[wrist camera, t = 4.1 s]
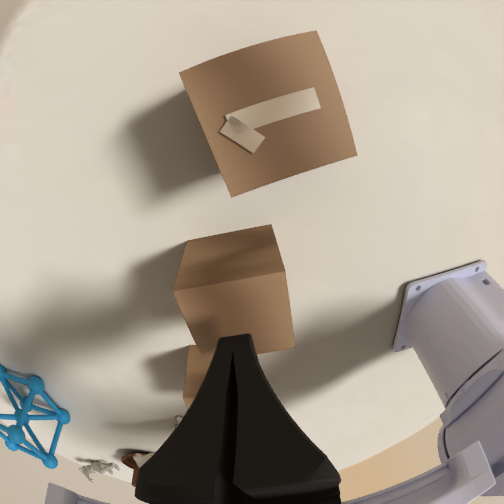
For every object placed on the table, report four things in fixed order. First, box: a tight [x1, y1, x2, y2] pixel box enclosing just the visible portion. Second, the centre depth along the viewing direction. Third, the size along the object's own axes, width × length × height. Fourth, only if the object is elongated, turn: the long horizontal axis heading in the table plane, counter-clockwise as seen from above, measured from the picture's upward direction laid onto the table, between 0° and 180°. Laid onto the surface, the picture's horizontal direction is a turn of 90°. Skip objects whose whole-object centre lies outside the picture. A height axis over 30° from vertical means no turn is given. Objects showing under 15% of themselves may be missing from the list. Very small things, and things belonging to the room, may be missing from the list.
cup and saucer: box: [121, 453, 147, 487], centre depth 33 cm, size 12×12×6 cm
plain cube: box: [173, 224, 295, 361], centre depth 15 cm, size 5×5×5 cm
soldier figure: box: [79, 461, 120, 481], centre depth 39 cm, size 8×5×12 cm
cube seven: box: [183, 345, 211, 409], centre depth 20 cm, size 5×5×5 cm
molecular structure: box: [0, 365, 70, 469], centre depth 21 cm, size 10×10×10 cm
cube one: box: [179, 31, 357, 198], centre depth 11 cm, size 5×5×5 cm
